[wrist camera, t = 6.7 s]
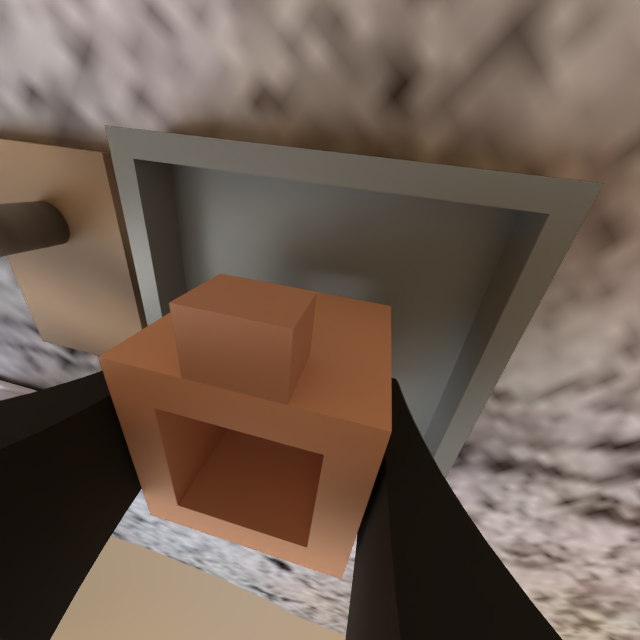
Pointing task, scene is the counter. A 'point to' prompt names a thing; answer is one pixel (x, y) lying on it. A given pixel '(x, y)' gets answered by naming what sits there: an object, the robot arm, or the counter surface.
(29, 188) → the stake board
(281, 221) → the tray
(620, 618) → the counter surface
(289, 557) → the collar
